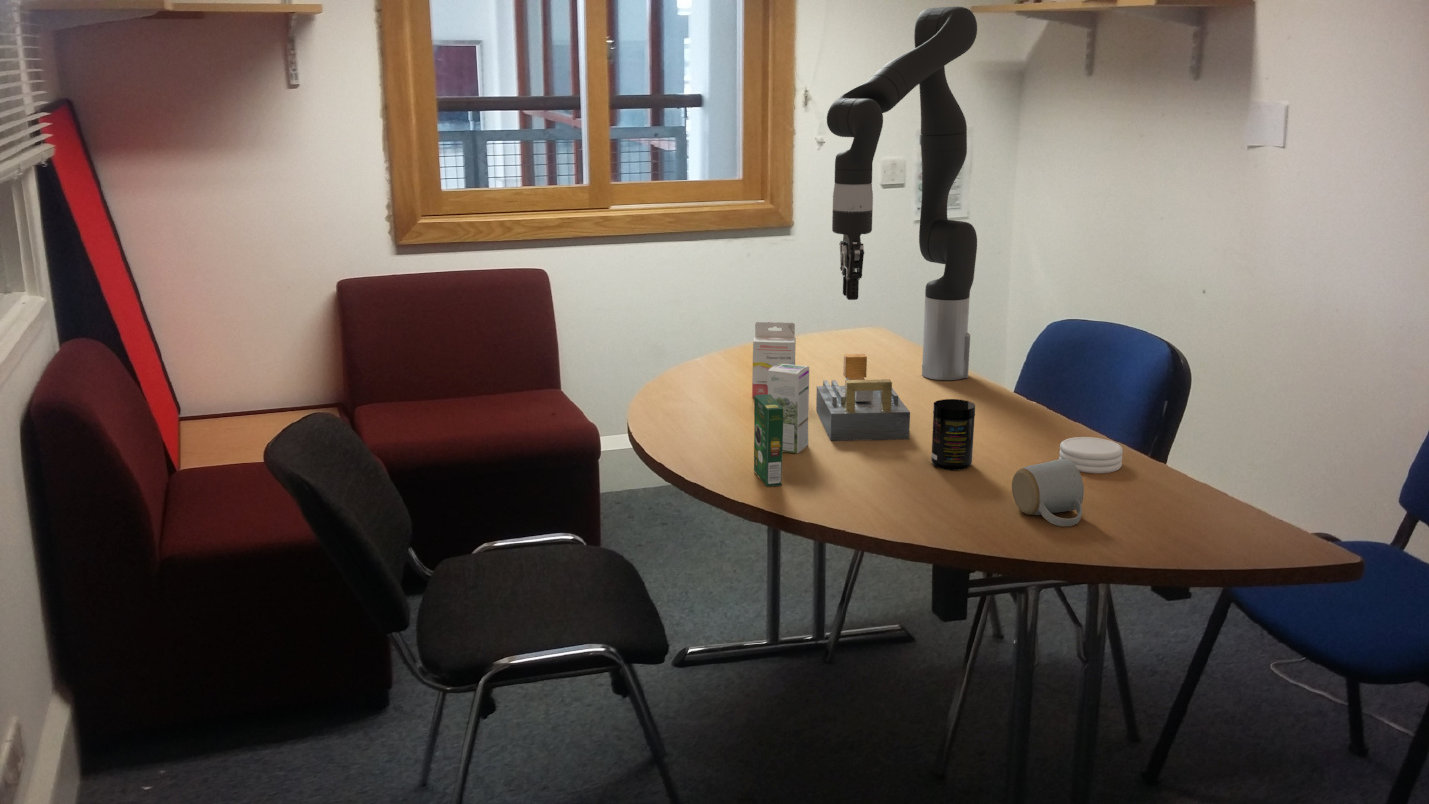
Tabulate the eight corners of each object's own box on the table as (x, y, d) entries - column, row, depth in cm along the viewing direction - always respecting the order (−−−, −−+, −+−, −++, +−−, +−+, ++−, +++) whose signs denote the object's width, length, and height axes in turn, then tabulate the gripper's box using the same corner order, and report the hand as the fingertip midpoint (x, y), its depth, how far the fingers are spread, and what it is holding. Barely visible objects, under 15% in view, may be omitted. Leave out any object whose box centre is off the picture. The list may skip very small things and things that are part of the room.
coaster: (1046, 459, 196) (1047, 439, 195) (1095, 452, 199) (1096, 433, 198) (1084, 477, 187) (1085, 457, 186) (1134, 470, 190) (1136, 449, 189)
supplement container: (979, 469, 191) (983, 407, 188) (943, 473, 189) (946, 411, 186) (959, 456, 197) (962, 397, 194) (923, 461, 195) (926, 401, 192)
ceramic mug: (1006, 506, 174) (1009, 457, 172) (1053, 499, 177) (1057, 451, 175) (1047, 532, 165) (1051, 481, 162) (1096, 525, 167) (1101, 474, 165)
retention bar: (863, 384, 223) (864, 353, 221) (875, 401, 211) (876, 369, 210) (843, 384, 223) (843, 354, 221) (853, 401, 211) (854, 369, 209)
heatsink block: (888, 409, 225) (890, 359, 222) (909, 439, 207) (911, 384, 204) (816, 411, 224) (817, 360, 222) (830, 440, 206) (831, 386, 203)
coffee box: (783, 486, 183) (784, 406, 180) (766, 488, 182) (766, 407, 179) (770, 470, 191) (770, 393, 187) (753, 471, 190) (753, 394, 187)
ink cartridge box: (751, 398, 234) (751, 326, 230) (753, 391, 239) (753, 321, 235) (794, 398, 233) (795, 326, 229) (795, 392, 238) (796, 321, 234)
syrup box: (809, 445, 204) (810, 364, 200) (797, 454, 198) (798, 372, 195) (779, 441, 206) (779, 361, 202) (766, 450, 201) (766, 369, 197)
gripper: (879, 211, 213) (876, 304, 218) (865, 203, 227) (863, 290, 231) (838, 212, 213) (836, 304, 217) (827, 203, 226) (825, 291, 231)
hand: (850, 296), depth 224 cm, fingers open, 3 cm apart
